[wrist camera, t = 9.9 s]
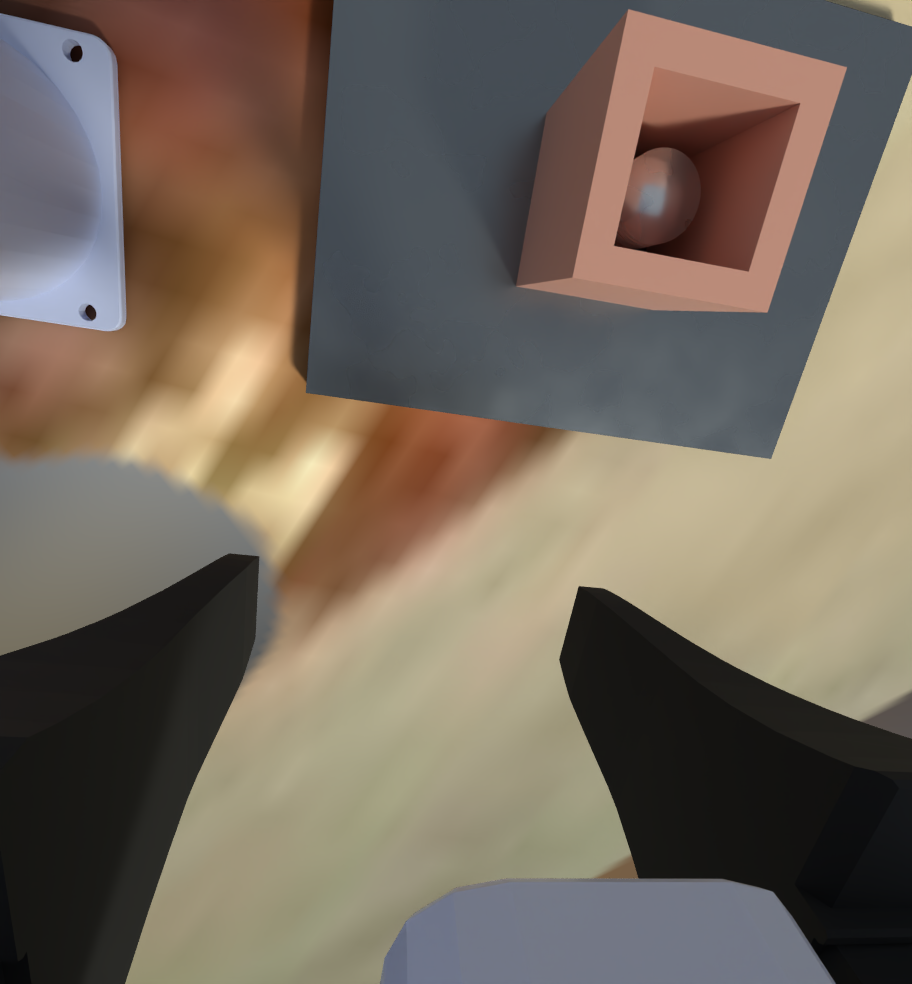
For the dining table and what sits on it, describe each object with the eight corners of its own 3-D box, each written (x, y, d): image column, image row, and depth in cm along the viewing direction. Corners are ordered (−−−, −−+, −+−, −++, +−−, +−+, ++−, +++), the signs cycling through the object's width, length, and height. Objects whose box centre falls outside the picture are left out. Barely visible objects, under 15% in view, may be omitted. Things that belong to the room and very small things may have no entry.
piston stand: (310, 388, 19) (282, 415, 14) (347, -116, 15) (324, -314, 10) (754, 452, 22) (853, 492, 17) (898, 45, 17) (1085, -50, 13)
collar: (515, 286, 18) (572, 277, 12) (546, 113, 16) (628, 8, 10) (653, 310, 18) (767, 312, 13) (695, 146, 17) (846, 67, 11)
